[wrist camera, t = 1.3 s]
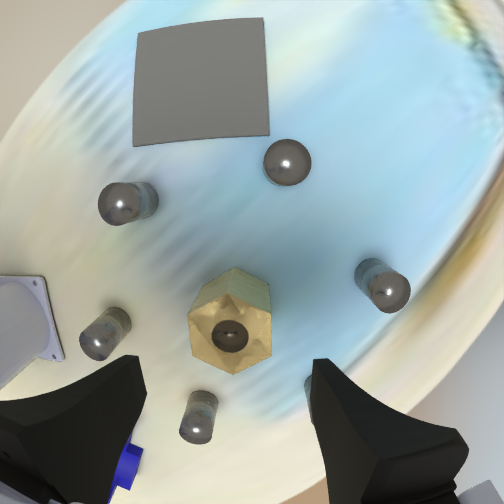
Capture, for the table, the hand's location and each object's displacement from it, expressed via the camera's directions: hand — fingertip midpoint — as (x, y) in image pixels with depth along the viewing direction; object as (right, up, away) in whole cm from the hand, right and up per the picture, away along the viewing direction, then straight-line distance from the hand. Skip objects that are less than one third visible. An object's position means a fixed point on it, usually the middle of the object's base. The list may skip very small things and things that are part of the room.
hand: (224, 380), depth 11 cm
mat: (-2, +17, +6) cm, 18 cm away
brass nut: (0, +2, +9) cm, 10 cm away
